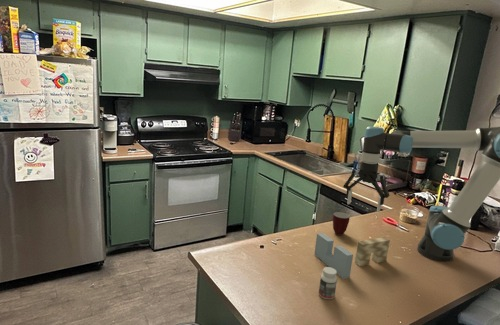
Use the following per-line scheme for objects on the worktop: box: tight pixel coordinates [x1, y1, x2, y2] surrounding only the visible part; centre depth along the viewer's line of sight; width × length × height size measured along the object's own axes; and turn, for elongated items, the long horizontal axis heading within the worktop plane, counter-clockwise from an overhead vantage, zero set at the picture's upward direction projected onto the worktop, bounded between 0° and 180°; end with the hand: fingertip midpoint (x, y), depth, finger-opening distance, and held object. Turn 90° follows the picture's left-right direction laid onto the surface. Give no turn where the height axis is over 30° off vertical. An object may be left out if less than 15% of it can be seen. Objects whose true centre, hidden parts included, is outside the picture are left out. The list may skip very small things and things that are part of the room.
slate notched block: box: [313, 232, 354, 280], centre depth 144 cm, size 20×3×10 cm, turn 24°
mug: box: [332, 211, 351, 236], centre depth 175 cm, size 11×8×10 cm
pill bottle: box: [318, 266, 338, 300], centre depth 124 cm, size 6×6×10 cm
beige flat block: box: [354, 237, 391, 267], centre depth 150 cm, size 15×3×10 cm, turn 114°
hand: (363, 207), depth 158 cm, fingers open, 13 cm apart
